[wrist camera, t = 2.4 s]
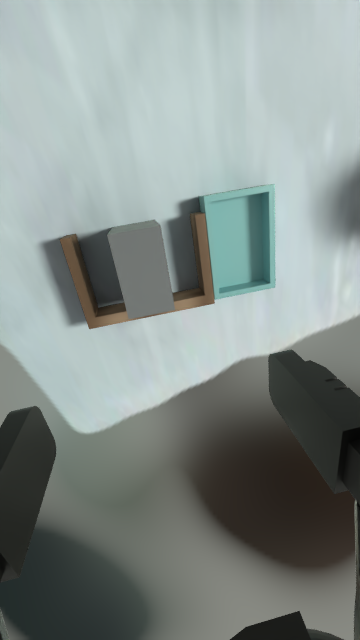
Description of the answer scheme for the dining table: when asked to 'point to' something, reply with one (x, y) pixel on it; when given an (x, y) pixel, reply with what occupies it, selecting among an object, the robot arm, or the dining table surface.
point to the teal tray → (241, 239)
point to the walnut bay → (118, 311)
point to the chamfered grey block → (141, 268)
